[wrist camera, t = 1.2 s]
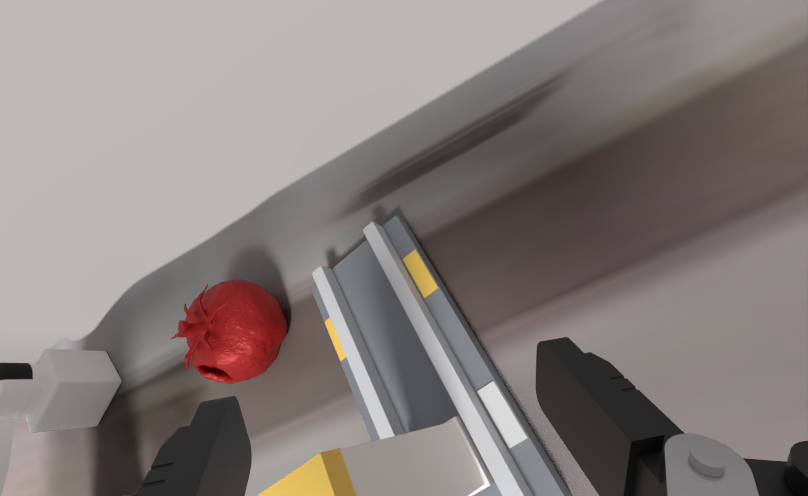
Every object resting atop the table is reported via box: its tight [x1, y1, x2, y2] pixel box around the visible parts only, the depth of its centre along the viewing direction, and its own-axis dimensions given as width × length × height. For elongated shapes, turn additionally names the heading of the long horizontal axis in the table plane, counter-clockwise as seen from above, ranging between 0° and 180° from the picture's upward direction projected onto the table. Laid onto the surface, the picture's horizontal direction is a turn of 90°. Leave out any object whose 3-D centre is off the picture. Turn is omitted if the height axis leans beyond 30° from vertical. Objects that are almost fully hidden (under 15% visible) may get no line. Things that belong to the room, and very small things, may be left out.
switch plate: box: [310, 215, 572, 496], centre depth 31 cm, size 24×11×3 cm, turn 30°
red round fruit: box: [172, 280, 287, 384], centre depth 39 cm, size 10×10×9 cm
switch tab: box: [258, 415, 495, 496], centre depth 22 cm, size 4×5×15 cm
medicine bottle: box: [0, 349, 122, 433], centre depth 50 cm, size 7×7×12 cm
